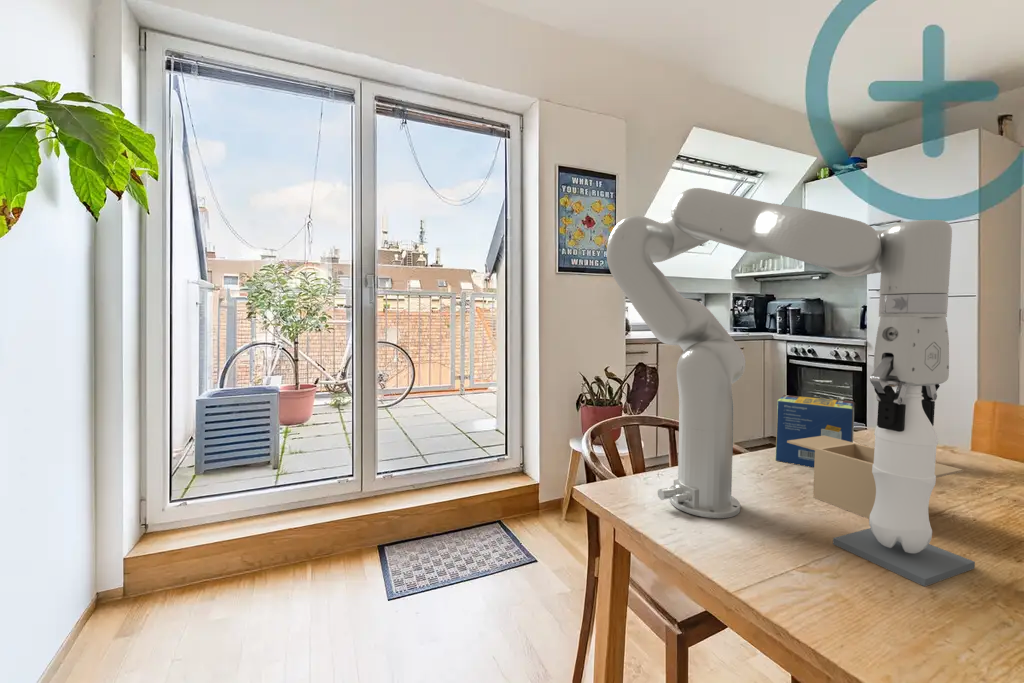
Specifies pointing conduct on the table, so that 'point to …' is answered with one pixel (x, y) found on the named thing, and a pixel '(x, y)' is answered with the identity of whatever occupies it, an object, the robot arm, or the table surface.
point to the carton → (848, 473)
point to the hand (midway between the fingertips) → (905, 426)
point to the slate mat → (906, 558)
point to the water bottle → (904, 478)
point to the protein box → (810, 425)
